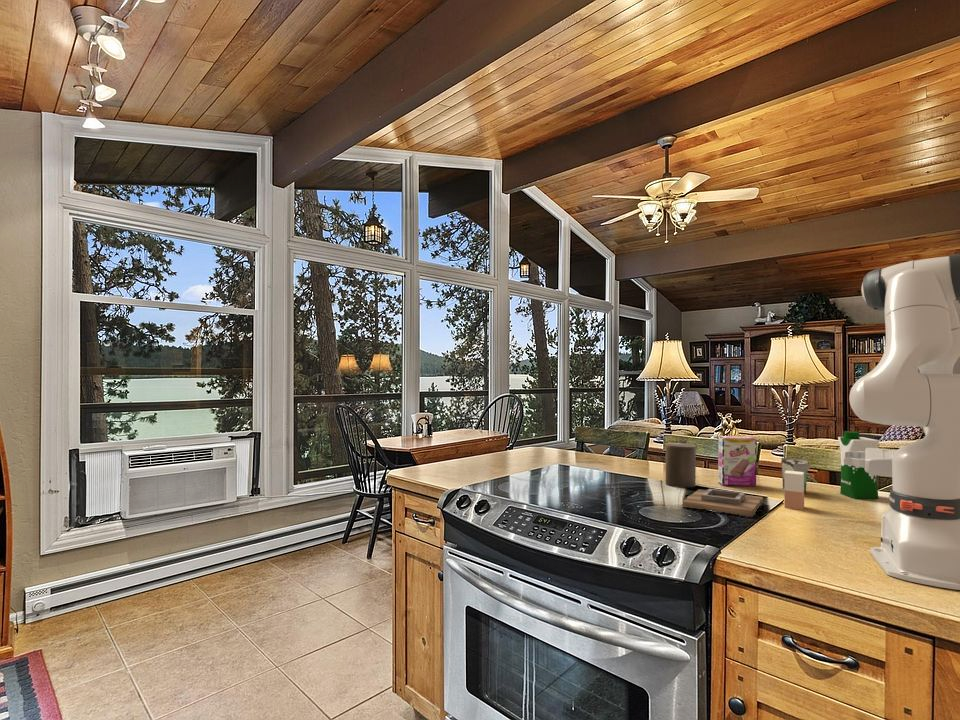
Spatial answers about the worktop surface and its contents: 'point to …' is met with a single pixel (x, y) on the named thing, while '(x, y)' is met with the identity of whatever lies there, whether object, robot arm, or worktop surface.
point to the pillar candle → (680, 464)
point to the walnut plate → (724, 501)
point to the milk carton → (857, 468)
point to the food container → (795, 468)
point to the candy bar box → (736, 461)
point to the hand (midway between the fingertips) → (844, 457)
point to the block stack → (794, 489)
